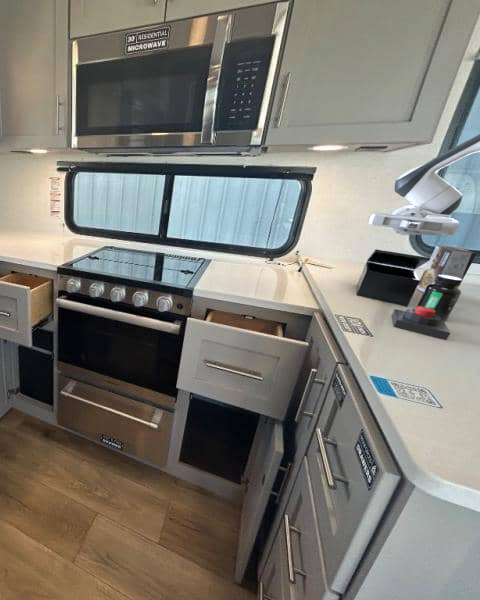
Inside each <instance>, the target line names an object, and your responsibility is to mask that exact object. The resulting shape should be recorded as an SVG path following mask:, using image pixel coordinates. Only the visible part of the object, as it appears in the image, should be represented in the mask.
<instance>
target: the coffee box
mask: <svg viewBox="0 0 480 600" xmlns="http://www.w3.org/2000/svg"><path fill="white" fill-rule="evenodd" d="M477 255H478V252H475V251H471V250H468V249H466V248H461V247H456V246H446V245H445V246H443V245H436V246H435V248H434V250H433V252H432V254H431V256H430V257H429V258H430V260H429V261H428V262H427V265H426V267H425V269H424V271H423V272H422V275H421V277H420V278H419V280H420V282H419V284H418V286H417V288H416V290H418V291H420V292H422V293H424V291H425V289H426V287H427V286H428V285H429V284H432V283H435V282H436V281H435V279H436V278H437V276H438V275H448V276H453V277H457V278H460V279H462V281H463V280H464V279H465V277H466V274H467V273H468V271H469V269H470V268H471V265H472V264H473V262H474V260H475V258H476V256H477ZM458 289H460V286H458Z"/></svg>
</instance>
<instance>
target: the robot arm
mask: <svg viewBox="0 0 480 600" xmlns="http://www.w3.org/2000/svg"><path fill="white" fill-rule="evenodd" d="M475 153H480V133H479V134H478V135H475V136H473V137H472V138H469V139H468V140H465V141H463V142H462V143H460V144H458V145H456V146H455V147H453V148H450V149H449V150H447V151H445V152H444V153H442V154H440V155H438V156H436V157H434V158H432V159H431V160H429V161H427V162H425V163H423V164H421V165H420V164H419V165H418V166H415V167H413V168H411V169H409V170H407V171H405V172H404V173H402V174H401V175H400V176H399V177H398V178H397V179H396V180H395V182H394V192H395V193H396V194H398V196H400V197H402V198H403V199H405V200H406V201H408V202H409V203H410V204H411V205H404V206H400V207H398V208H396V209H395V210H393V212H391V213H384V212H374V213H372V214H371V215H370V216H368V220H369V221H368V225H370V226H375V227H382V228H383V227H384V228H391V230H392V231H393V232H394V233H396V234H397V235H401V236H411V235H412V236H419V235H422V236H423V235H424V236H425V235H428V236H441V235H446V236H453V235H455V233H456V232H457V230H458V228H459V226H460V222H459V221H458V220H457V219H455V218H453V217H451V214H452V213H453V212H455V211H456V210H457V209H459V207H460V205H461V204H462V201H463V198H464V196H463V194H462V193H461V192H460V191H459V190H458V189H456V187H454V186H452V184H450V183H449V182H447V180H445V179H444V178H442V177H441V176H440V175H439V174H438V172H439V170H441V169H443V168H446V167H448V166H449V165H451V164H453V163H455V162H457V161H459V160H461V159H464V157H467V156H469V155H471V154H475Z"/></svg>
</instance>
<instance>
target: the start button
mask: <svg viewBox="0 0 480 600" xmlns="http://www.w3.org/2000/svg"><path fill="white" fill-rule="evenodd" d="M416 307H417V308H416ZM416 307H415V308H414V309H415V311H414V313H416V314H418V315H421V316H425V317H433V316H434V314H435V312H436V311H435V310H433V309H430V308H427V307H421V306H417V305H416Z"/></svg>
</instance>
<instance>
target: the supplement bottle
mask: <svg viewBox="0 0 480 600" xmlns="http://www.w3.org/2000/svg"><path fill="white" fill-rule="evenodd" d="M435 281H436V282H435V283H432V284H429V285H428V286H427V287H426V289H425V291H424V292H422V295H421V296H420V297H421V298H420V299H419V301H418V303H417V305H416V306H415V309H416V308H417V306H421V307H427V308H430V309H433V310H435V311H436V312H435V314H436V315H438V316H440V318H441V320H444V321H447V320H448V318H449V316H450V315H451V313H452V311H453V309H454V308H455V305H456V304H457V302H458V301H459V299H460V297H461V295H462V290H461V289H460V288H458V286H459V287H460V286H461V283H463V280H462V279H460V278H457V277H453V276H448V275H438V276H437V278H436V279H435Z"/></svg>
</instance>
